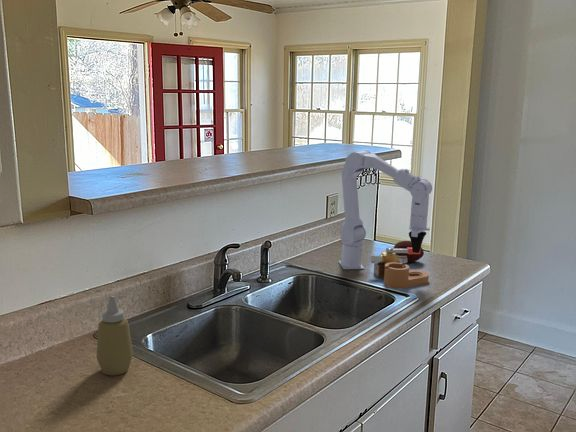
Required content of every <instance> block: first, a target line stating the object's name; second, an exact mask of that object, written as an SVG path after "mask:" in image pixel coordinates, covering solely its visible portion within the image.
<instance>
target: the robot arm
mask: <svg viewBox="0 0 576 432" xmlns="http://www.w3.org/2000/svg"><path fill="white" fill-rule="evenodd" d="M365 169H375V170H377V171H379V172H381V173H383V174H385V175H386V176H389V177H391V178H393V179H392V180H393V182H394V184H396V185H397V186H399V187H401V188H403V189H404V190H406V191H408V192H410V195H411V207H410V219H409V221H410V222H409V226H408V227H409V228H408V230H410V231H409V232H408V237H409V239H410V241H411V243H412V251H413V252H415V253H419V251H420V248H422V244H423V241H424V238H425V237H426V235H427V232H426V231H430V230H431V227H428V214H429V213H428V212H429V200H430V194H431V193H432V191H433V186H432V183H431V182H430V181H429V180H428V179H425V178H422V179H421V176H416V175H415V174H413V173H412V172H410V170H409V169H408V168H401V169H398V168H396V167H395V166H393V165H391V164H390V163H388V162H387V161H386V160H384V159H382V158H381V157H380V156H378V155H377V154H375V153H372V152H371V151H369V150H362V151H353V152H351V153H349V154H348V156H346V157H345V163H344V166H343V168H342V170H341V184H342V194H343V195H342V197H343V208H344V221H343V223H342V225H341V231H340V234H339V235H340V236H339V237H340V240H341V242H342V245H341V253H340V254H341V255H340V256H341V257H340V260H338V264H339V265H340V267H342V269H343V270H364V269H365V267H364V266H363V264H362V256H363V255H362V254H363V240H364V239H365V238H366V235H367V233H366V232H367V231H366V228H365V227H364V222H363V220H362V219H361V218H360V209H359V207H360V206H359V195H358V194H359V193H358V192H359V190H358V179H357V177H358V176H359V175H360V174H361V173H362V172H363V171H364V170H365Z"/></svg>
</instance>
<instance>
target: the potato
mask: <svg viewBox="0 0 576 432" xmlns="http://www.w3.org/2000/svg"><path fill="white" fill-rule="evenodd" d="M407 247H412V243H411V240H401V241H399V242H396V244H394V245H393V249H407ZM420 249H421V252H420V254H408V253H395V254H396V255H398V256H407V263H413V262H417V261H419V260H420V259H422V258H423V256H424V254H425V253H424V252H425V251H424V249H423V247H421V248H420ZM407 263H406V264H407Z"/></svg>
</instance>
